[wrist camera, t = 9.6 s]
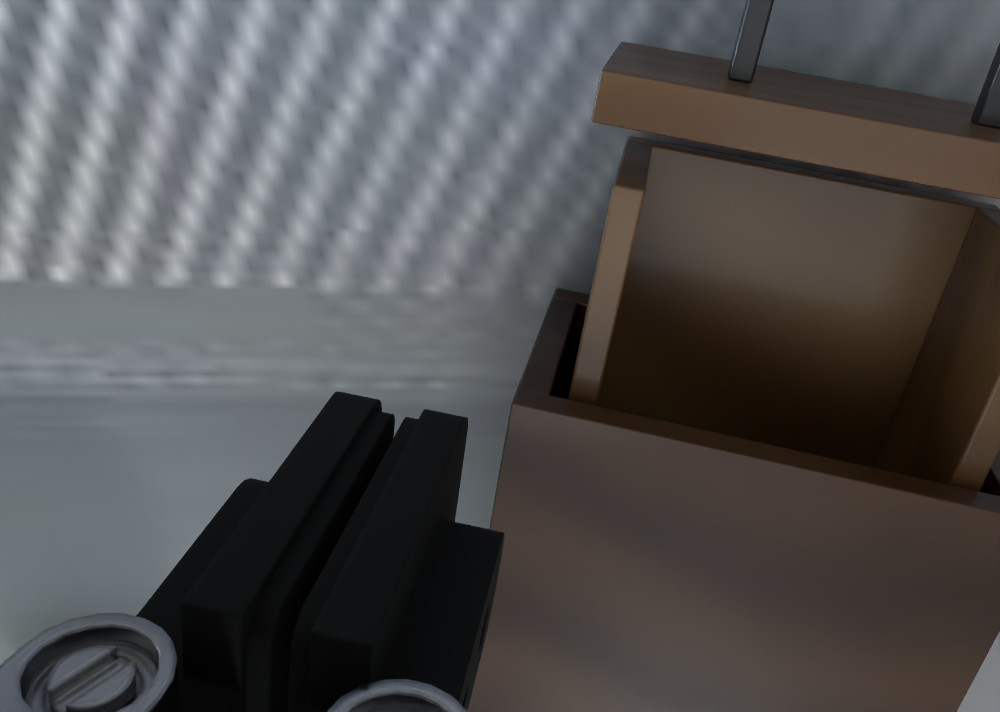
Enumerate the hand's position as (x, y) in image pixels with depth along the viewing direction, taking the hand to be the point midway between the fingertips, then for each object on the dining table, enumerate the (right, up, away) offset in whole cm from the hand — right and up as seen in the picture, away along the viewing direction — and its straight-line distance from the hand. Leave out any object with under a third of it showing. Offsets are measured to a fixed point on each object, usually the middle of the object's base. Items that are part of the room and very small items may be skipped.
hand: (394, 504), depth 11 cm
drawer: (+10, +6, +16) cm, 20 cm away
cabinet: (+9, -4, +23) cm, 25 cm away
